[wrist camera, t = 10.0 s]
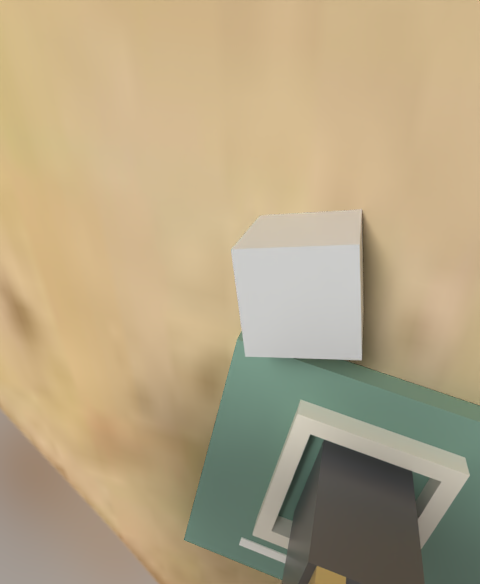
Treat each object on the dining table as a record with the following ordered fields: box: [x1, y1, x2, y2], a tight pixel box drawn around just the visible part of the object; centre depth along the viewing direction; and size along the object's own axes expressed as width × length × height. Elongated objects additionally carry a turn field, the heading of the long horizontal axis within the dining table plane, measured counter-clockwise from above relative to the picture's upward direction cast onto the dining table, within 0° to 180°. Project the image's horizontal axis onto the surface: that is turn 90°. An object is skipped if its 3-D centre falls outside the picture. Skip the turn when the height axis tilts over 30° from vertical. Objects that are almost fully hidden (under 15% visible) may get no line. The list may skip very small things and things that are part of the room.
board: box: [184, 331, 480, 584], centre depth 22 cm, size 16×14×2 cm
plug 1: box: [231, 209, 364, 360], centre depth 17 cm, size 4×4×4 cm
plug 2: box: [282, 440, 425, 584], centre depth 18 cm, size 4×5×7 cm
